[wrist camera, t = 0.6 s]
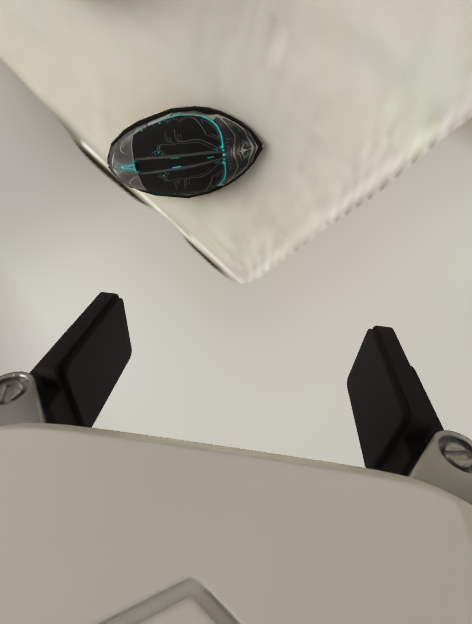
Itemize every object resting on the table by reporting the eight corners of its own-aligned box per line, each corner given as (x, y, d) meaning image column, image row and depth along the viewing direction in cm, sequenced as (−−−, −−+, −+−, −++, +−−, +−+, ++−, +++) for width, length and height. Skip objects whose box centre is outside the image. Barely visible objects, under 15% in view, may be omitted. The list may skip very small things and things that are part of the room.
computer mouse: (265, 187, 36) (263, 201, 31) (128, 199, 38) (108, 214, 34) (260, 96, 31) (257, 97, 26) (104, 117, 34) (75, 121, 29)
